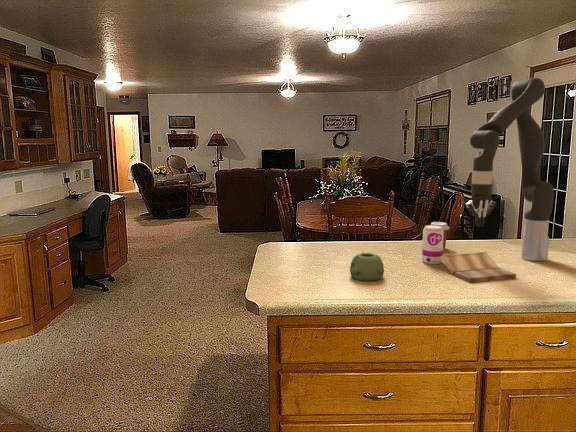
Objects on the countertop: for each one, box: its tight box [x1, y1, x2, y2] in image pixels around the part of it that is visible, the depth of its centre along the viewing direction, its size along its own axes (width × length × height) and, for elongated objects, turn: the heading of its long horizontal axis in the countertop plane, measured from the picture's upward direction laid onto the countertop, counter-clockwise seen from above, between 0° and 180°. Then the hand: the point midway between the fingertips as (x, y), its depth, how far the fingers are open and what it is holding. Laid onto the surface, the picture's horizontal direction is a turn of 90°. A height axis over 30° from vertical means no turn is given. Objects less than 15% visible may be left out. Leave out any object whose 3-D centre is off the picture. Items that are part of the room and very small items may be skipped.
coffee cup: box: [430, 221, 450, 251], centre depth 226 cm, size 9×9×12 cm
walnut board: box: [453, 266, 517, 284], centre depth 180 cm, size 20×9×2 cm, turn 105°
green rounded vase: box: [349, 251, 385, 282], centre depth 182 cm, size 16×13×9 cm
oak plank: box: [441, 251, 500, 275], centre depth 189 cm, size 20×9×2 cm, turn 105°
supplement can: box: [421, 224, 444, 265], centre depth 201 cm, size 8×8×15 cm
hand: (479, 226), depth 190 cm, fingers closed
